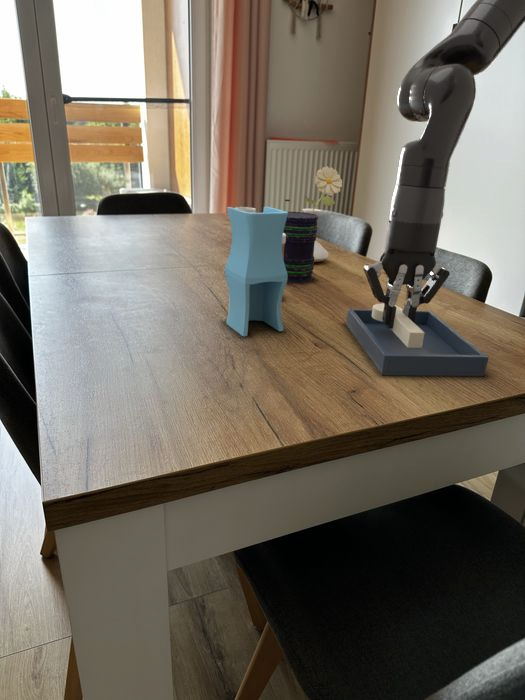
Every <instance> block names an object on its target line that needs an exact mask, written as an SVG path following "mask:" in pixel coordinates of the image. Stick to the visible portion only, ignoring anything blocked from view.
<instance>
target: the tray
mask: <svg viewBox="0 0 525 700" xmlns="http://www.w3.org/2000/svg"><path fill="white" fill-rule="evenodd" d="M372 309H373V308H371V309H369V308H368V309H367V308H348V309H347V314H346V323H345V325H346V327H347V328H348V330H349V331H350V332H351V334H352V336H353V337H354V338H355V340H356V341H357V342H358V344H359V345H360V347H361V349H363V351H364V353H365V354H366V355H367V356H368V358H369V359H370V361H371V362H372V364H373V365H374V367H375V368H376V369H377V371H378V372H379V374H380V375H381V376H413V377H414V376H419V377H420V376H422V377H438V376H439V377H485V375H486V370H487V367H488V362H489V356H488V355H487V354H485V353H484V352H483V351H482V350H480V349H479V347H477V346H476V345H474V344H473V343H472V342H471V341H469V340H468V339H467V338H465V337H464V336H463V335H462V334H461V333H459V332H458V331H457V330H456V329H454V328H453V327H452V326H451V325H449V324H448V323H447V322H445V321H444V320H443V319H442V318H441V317H439V316H438V315H437V314H436V313H434V312H433V311H432V310H418V309H417V310H416V316H415V322H414V323H415V324H416V325H417V326H418V327H419V328H420V329H421V330H422V331H423V332H424V338H423V344H422V348H408V347H407V346H406V345H405V344H404V343H403V342H402V341H401V340H400V339H399V338H398V337H397V336H396V334H395V333H394V332H393V331H392V330H391V329H388V328H387V327H386V326H385V324H384V323H383V322H382V321H378V320H375V319H373V318H372ZM403 311H404V309H403Z"/></svg>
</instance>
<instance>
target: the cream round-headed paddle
mask: <svg viewBox="0 0 525 700" xmlns="http://www.w3.org/2000/svg"><path fill="white" fill-rule="evenodd" d="M395 306H396V307H397V308H396V314H395V318H394V324H393V328H392V329H391V330H392V331H393V332H394V333H395V334H396V336H397V337H398V338H399V339H400V340H401V341H402V342H403V343H404V344H405V345H406V346H407V347H408V348H422V344H423V338H424V332H423V331H422V330H421V329H420V328H419V327H418V326H417V325H416V324H415V323H413V322H412V321H411V320H410V319H409V318H408V317H407V316H406V315H405V314H404V313H403V310H404V308H402V307H400V306H398V305H397V304H396V305H395ZM371 309H372V318H373V319H375V320H378V321H382V322H383V320H382V317H383V310H384V303H376V304H374V305H372V308H371Z"/></svg>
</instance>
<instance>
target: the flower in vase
mask: <svg viewBox="0 0 525 700" xmlns="http://www.w3.org/2000/svg"><path fill="white" fill-rule="evenodd" d="M315 174H316V176H315V180H314V184H315V185H316V187H317V188H318V191H319V192H320V193H321V196H320V198H319V199H318V201H317V202H316V200H315V199H312V198H310V197H308V196H306V195H304V200H305V201H306V202H307V203H309V204H312V205H314V207H313V208H302V211H303V213H310V214H315V215H317V216H318V217H319V215H320V213H321V212H322V209H319V208H317V206H318V205H319V203H320V202H321V203H322V204H323V205H324V206H326V207H329V206H333V205H336V202H335V200H334V199H333V198H332V197H333V196H335V194H338V193H340V192H341V188H342V187H343V179H341V174H339V172H338V171H337V169H334V168H333V167H332V166H330V167H329V166H328V165H326V166H323V167H322V168H321V169H318V170H317V171H316V173H315ZM324 195H326V196H324ZM323 196H324V197H323ZM313 256H314V263H320V262H323V261H326V260H328V258H329V256H330V255H329V252H328V251H327V250H326V248H325V247H323V245H321V244H320V243H319V241H317V239H316V240H315V243H314V254H313Z"/></svg>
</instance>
